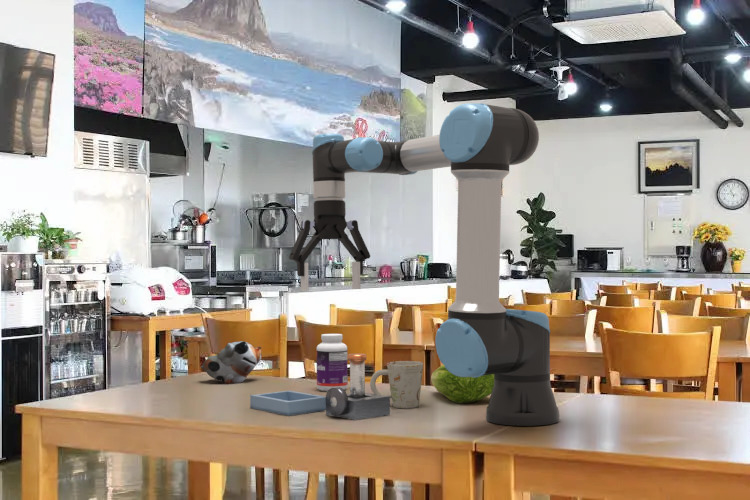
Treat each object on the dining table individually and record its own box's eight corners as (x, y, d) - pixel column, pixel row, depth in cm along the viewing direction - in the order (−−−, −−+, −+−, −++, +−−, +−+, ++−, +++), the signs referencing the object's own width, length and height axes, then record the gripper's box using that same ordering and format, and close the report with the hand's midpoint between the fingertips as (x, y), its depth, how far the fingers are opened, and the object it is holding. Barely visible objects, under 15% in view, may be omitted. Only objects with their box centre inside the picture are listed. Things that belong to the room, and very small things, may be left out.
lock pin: (370, 414, 217) (370, 354, 217) (356, 416, 215) (355, 355, 215) (359, 412, 220) (358, 353, 220) (345, 414, 218) (344, 354, 218)
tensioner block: (390, 414, 217) (389, 385, 217) (347, 421, 209) (347, 390, 209) (361, 409, 224) (360, 380, 224) (319, 415, 217) (318, 385, 217)
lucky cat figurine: (232, 376, 287) (254, 334, 286) (253, 397, 278) (276, 353, 277) (192, 366, 276) (214, 322, 275) (213, 387, 268) (236, 342, 267)
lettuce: (466, 369, 255) (429, 342, 251) (513, 374, 232) (472, 344, 229) (442, 409, 252) (404, 382, 248) (488, 418, 229) (446, 389, 226)
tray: (327, 410, 224) (327, 396, 224) (288, 415, 217) (287, 402, 217) (289, 403, 235) (289, 390, 235) (250, 408, 228) (250, 395, 228)
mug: (420, 409, 223) (420, 365, 223) (366, 408, 226) (365, 364, 226) (426, 403, 232) (425, 361, 232) (373, 402, 234) (373, 360, 234)
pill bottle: (313, 388, 260) (312, 333, 260) (343, 387, 262) (342, 332, 262) (321, 392, 252) (320, 336, 252) (351, 391, 254) (350, 335, 254)
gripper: (368, 201, 244) (369, 287, 243) (274, 200, 232) (275, 291, 231) (383, 199, 237) (384, 288, 237) (287, 198, 225) (288, 291, 225)
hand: (330, 289), depth 234 cm, fingers open, 13 cm apart
